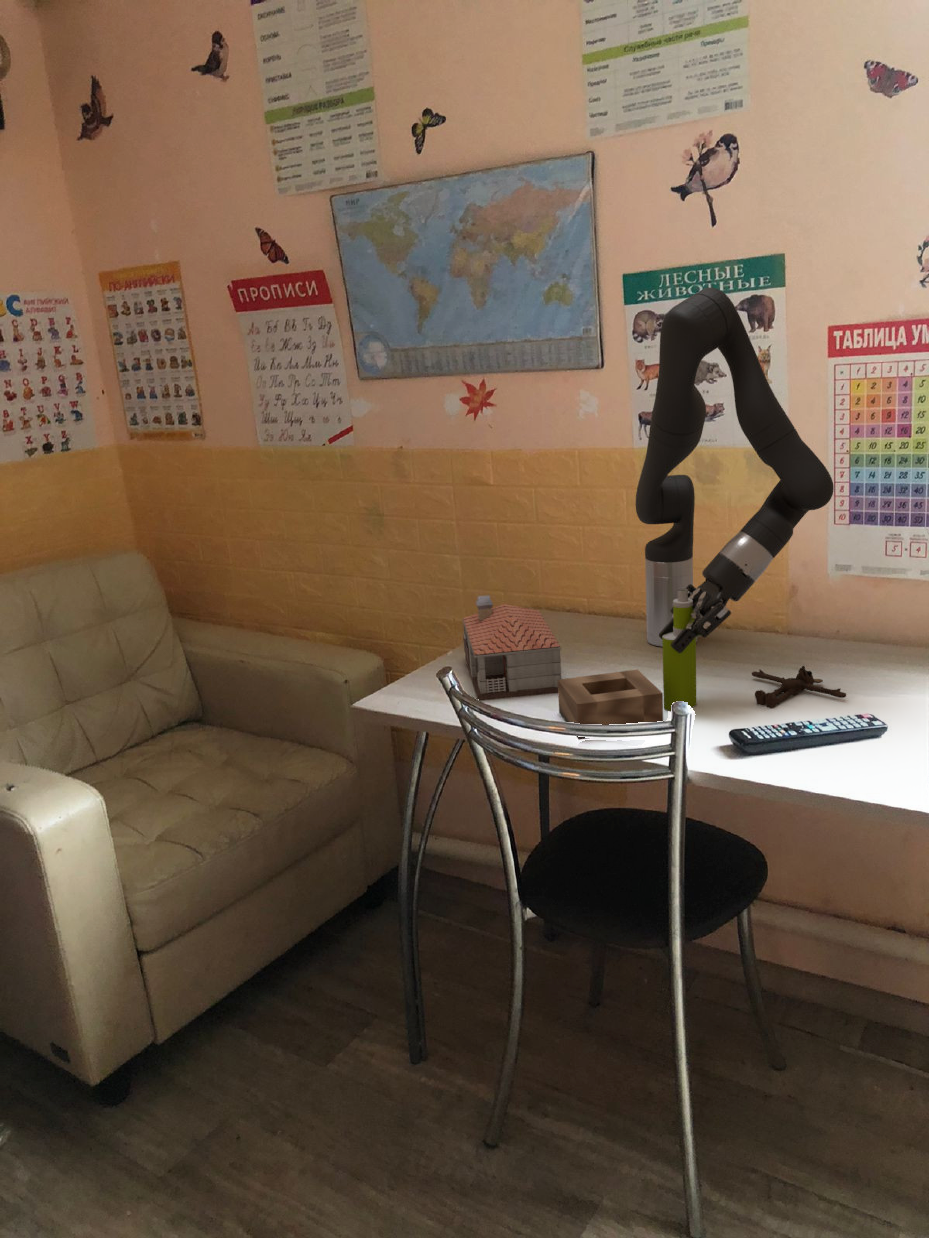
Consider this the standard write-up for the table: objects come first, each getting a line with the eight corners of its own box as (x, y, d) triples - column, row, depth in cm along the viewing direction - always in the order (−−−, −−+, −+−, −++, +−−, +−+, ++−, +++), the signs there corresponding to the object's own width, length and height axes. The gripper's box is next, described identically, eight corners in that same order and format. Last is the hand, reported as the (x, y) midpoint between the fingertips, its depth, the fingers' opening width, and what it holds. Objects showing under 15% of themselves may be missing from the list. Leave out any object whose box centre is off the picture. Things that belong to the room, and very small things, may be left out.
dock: (638, 702, 176) (637, 669, 175) (663, 728, 165) (662, 693, 163) (559, 712, 174) (557, 679, 173) (578, 739, 163) (577, 704, 161)
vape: (700, 703, 174) (699, 589, 168) (677, 713, 170) (675, 597, 165) (683, 698, 177) (682, 585, 171) (660, 708, 173) (657, 593, 168)
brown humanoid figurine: (718, 680, 177) (766, 651, 185) (719, 702, 178) (767, 672, 187) (812, 704, 163) (860, 671, 172) (813, 728, 165) (860, 695, 173)
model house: (464, 660, 206) (458, 588, 201) (541, 653, 207) (537, 580, 202) (476, 702, 183) (470, 621, 179) (563, 693, 184) (559, 613, 180)
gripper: (705, 543, 174) (638, 619, 176) (741, 561, 161) (668, 643, 162) (734, 570, 176) (668, 645, 178) (772, 590, 163) (701, 671, 164)
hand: (669, 644), depth 170 cm, fingers closed on vape, 5 cm apart
